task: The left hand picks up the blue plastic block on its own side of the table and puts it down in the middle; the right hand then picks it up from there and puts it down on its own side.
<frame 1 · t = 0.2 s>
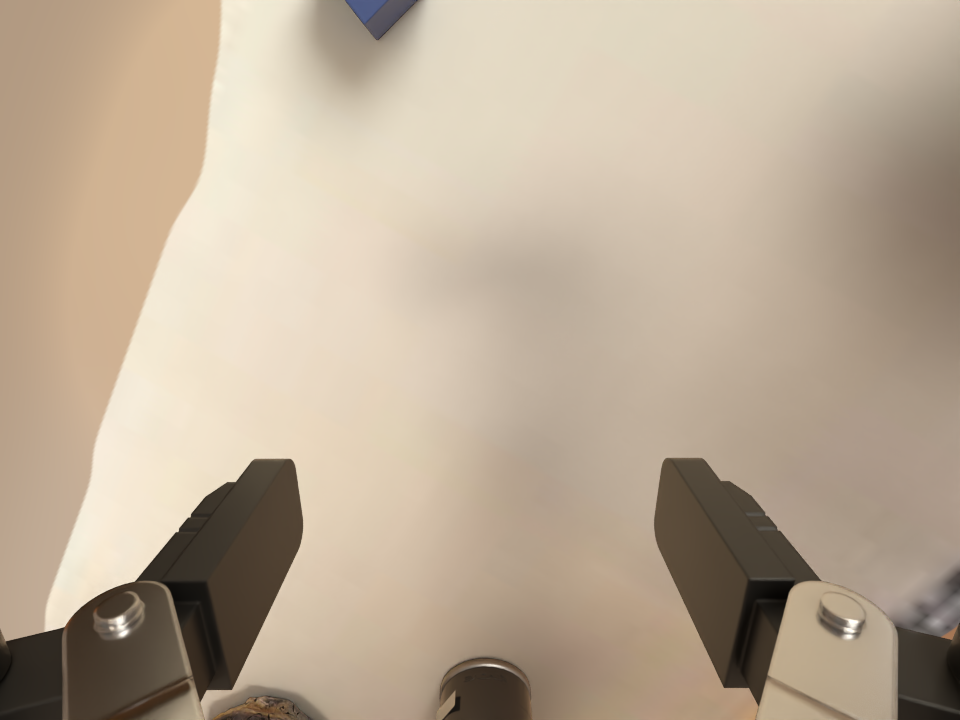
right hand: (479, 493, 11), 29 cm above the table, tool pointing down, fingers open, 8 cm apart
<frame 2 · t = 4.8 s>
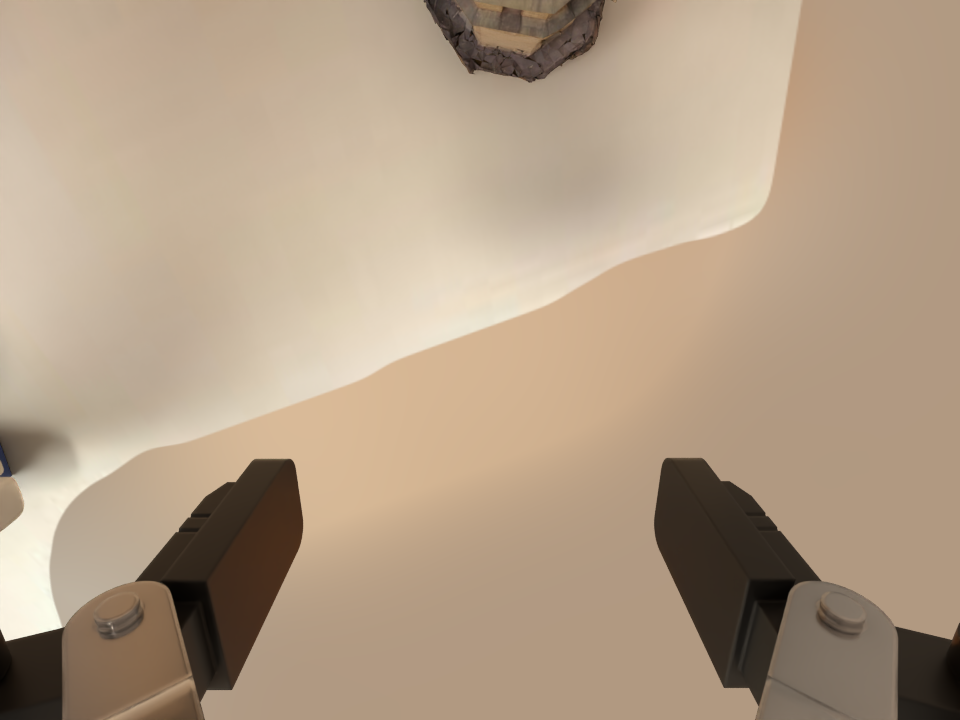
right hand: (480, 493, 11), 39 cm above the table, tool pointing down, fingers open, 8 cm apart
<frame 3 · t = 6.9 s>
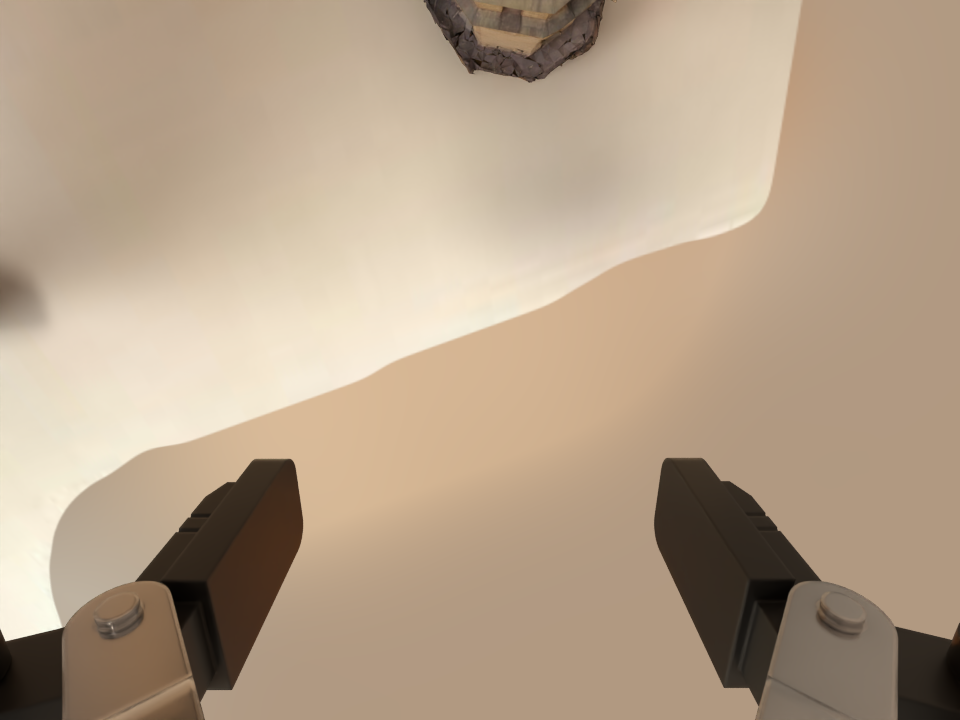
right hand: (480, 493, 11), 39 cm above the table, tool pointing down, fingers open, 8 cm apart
when the left hand's fingers open (3 cm above the table, at t = 9.1 s): block drops 1 cm, on the table.
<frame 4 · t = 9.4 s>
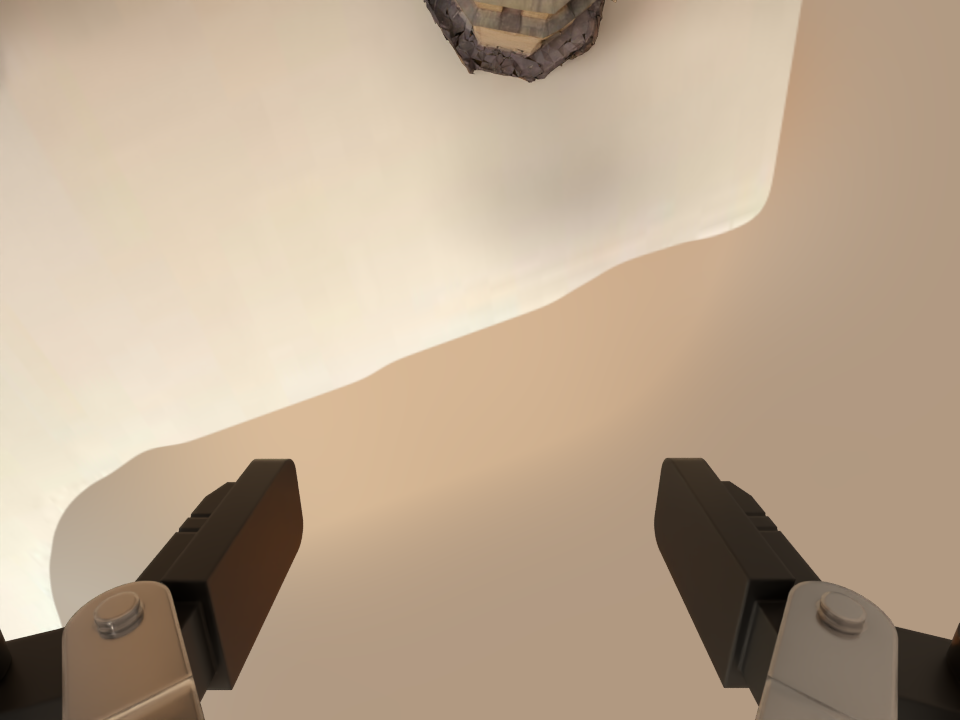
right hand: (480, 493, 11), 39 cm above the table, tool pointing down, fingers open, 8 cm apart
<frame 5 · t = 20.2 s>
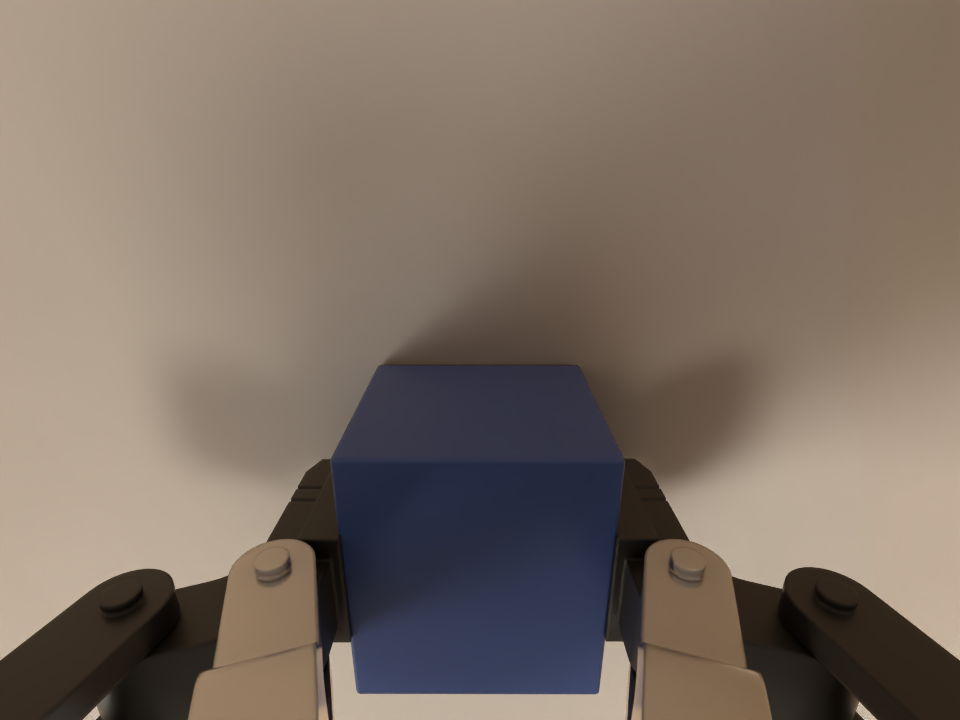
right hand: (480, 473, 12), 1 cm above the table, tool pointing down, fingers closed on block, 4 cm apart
block: (478, 461, 13), on the table, touching right hand
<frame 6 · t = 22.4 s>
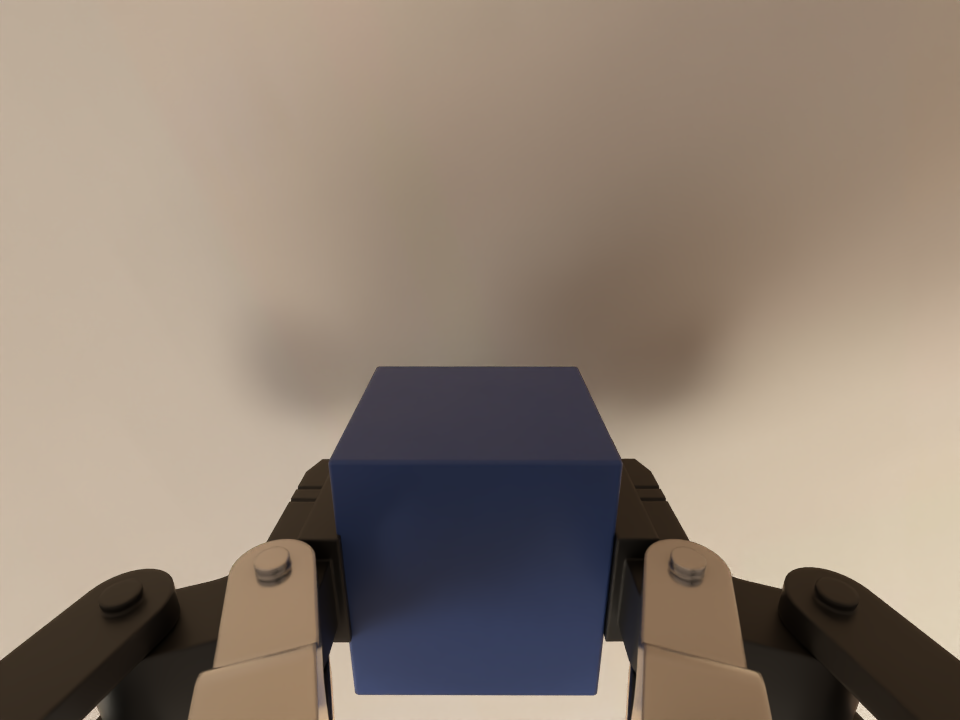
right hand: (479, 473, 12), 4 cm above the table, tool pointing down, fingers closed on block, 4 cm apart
block: (477, 462, 13), point 3 cm above the table, touching right hand
when the right hand's fingers open (2 cm above the table, at t = 24.8 s): block drops 1 cm, on the table.
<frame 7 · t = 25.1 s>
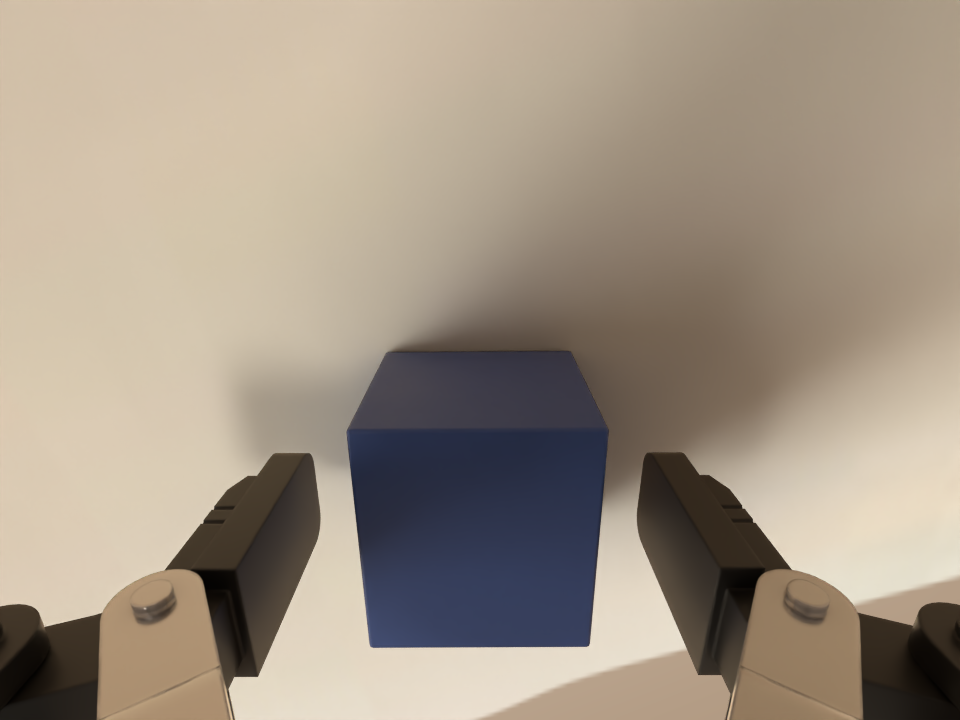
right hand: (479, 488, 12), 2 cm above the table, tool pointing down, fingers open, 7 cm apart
block: (479, 441, 14), on the table
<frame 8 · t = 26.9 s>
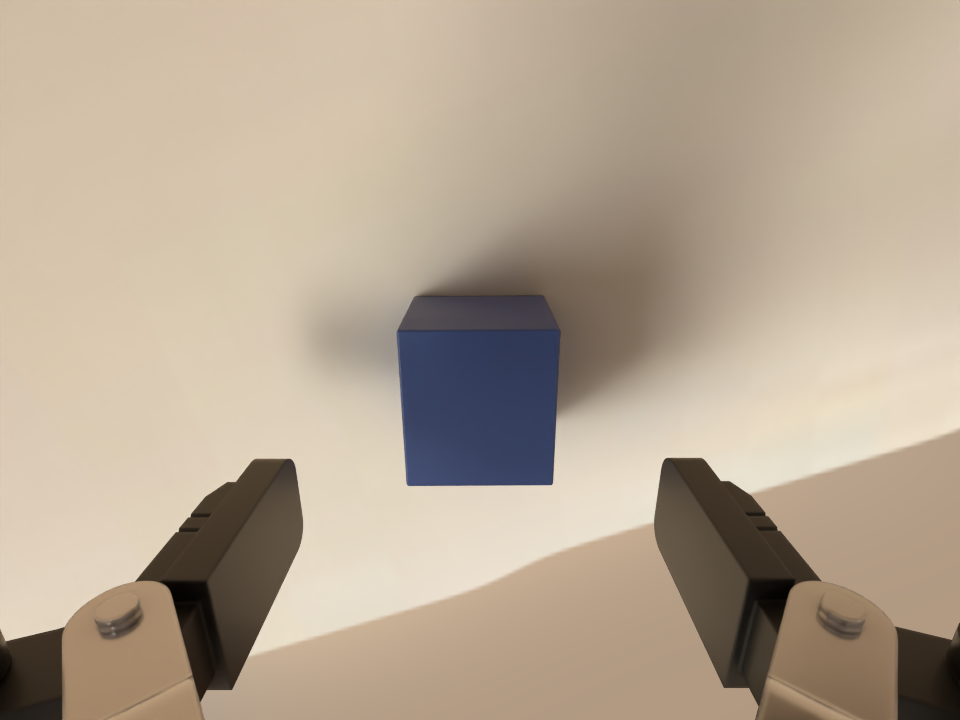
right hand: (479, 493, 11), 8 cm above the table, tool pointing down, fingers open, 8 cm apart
block: (479, 363, 19), on the table
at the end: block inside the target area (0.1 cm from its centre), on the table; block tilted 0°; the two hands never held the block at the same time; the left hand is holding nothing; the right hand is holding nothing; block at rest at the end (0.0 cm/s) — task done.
